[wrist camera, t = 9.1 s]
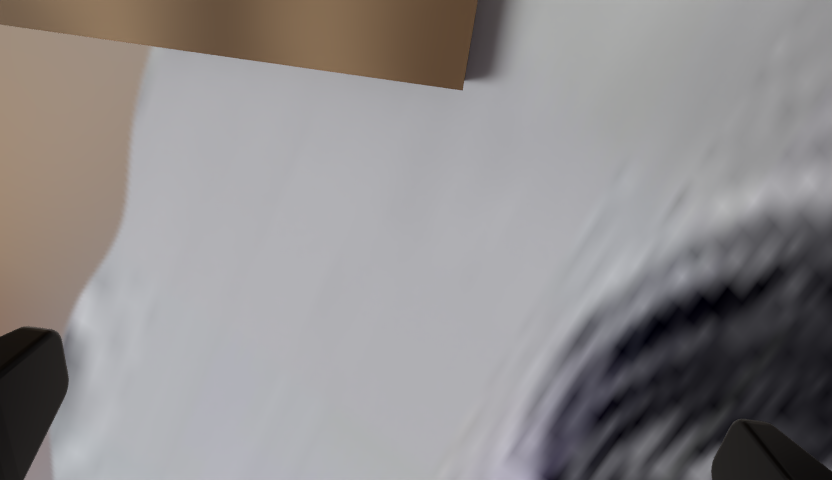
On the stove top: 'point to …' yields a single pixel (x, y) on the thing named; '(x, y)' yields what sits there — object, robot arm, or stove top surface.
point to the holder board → (280, 31)
